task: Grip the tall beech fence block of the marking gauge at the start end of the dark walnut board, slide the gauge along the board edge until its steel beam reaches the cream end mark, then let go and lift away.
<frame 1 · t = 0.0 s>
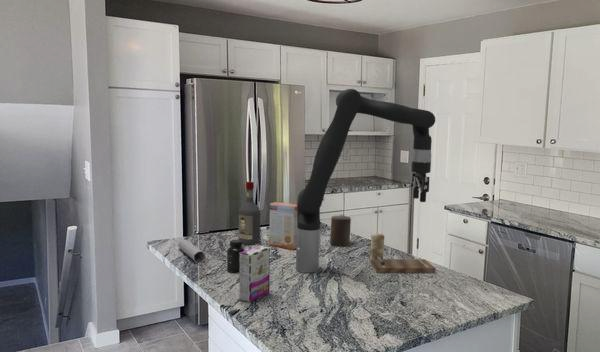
hand: (419, 200, 189), 29 cm above the counter, tool pointing down, fingers open, 8 cm apart
walnut board: (402, 268, 194), on the counter
supplement bottle: (235, 270, 186), on the counter
liquor: (249, 242, 229), on the counter
tube: (190, 255, 205), on the counter
candy bar box: (254, 296, 159), on the counter
pillar candle: (340, 244, 230), on the counter
cracker box: (284, 247, 223), on the counter
marking gauge: (379, 251, 196), point 6 cm above the counter, slide at 0.0 cm
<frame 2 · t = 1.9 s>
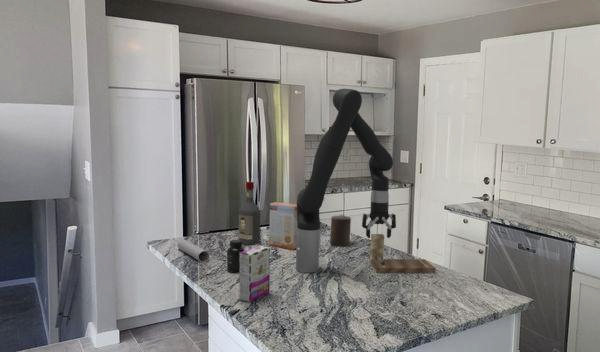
hand: (378, 237, 200), 11 cm above the counter, tool pointing down, fingers open, 8 cm apart
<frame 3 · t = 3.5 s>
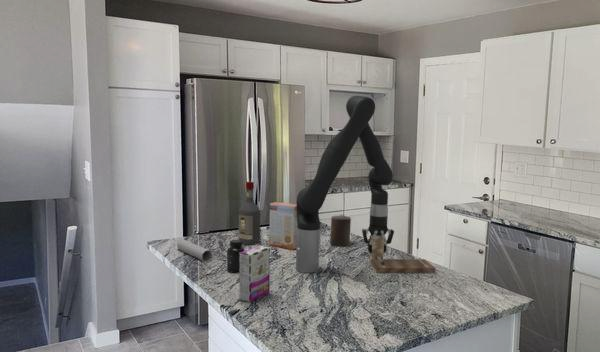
hand: (376, 252, 201), 4 cm above the counter, tool pointing down, fingers closed on marking gauge, 5 cm apart
marking gauge: (379, 251, 196), point 6 cm above the counter, slide at 0.0 cm, touching gripper
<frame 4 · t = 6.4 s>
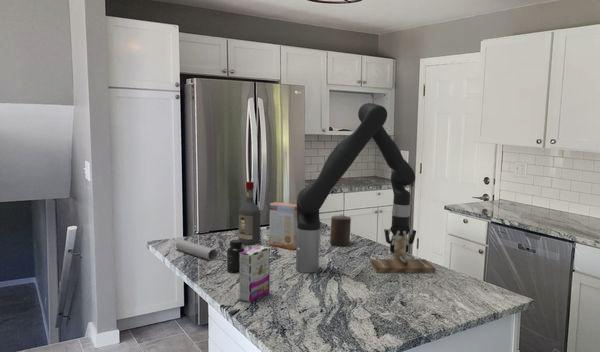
hand: (398, 252, 202), 4 cm above the counter, tool pointing down, fingers closed on marking gauge, 5 cm apart
marking gauge: (402, 251, 197), point 6 cm above the counter, slide at 9.7 cm, touching gripper
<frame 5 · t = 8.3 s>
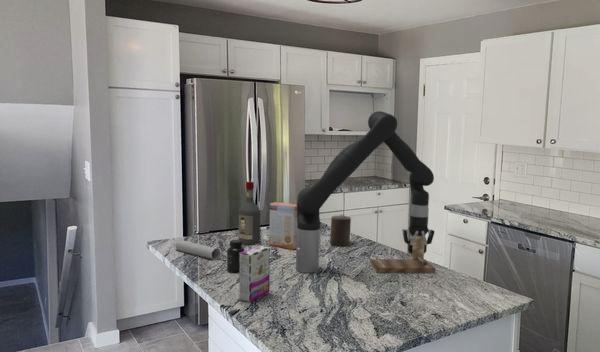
hand: (417, 252, 202), 4 cm above the counter, tool pointing down, fingers closed on marking gauge, 5 cm apart
marking gauge: (421, 251, 197), point 6 cm above the counter, slide at 17.8 cm, touching gripper
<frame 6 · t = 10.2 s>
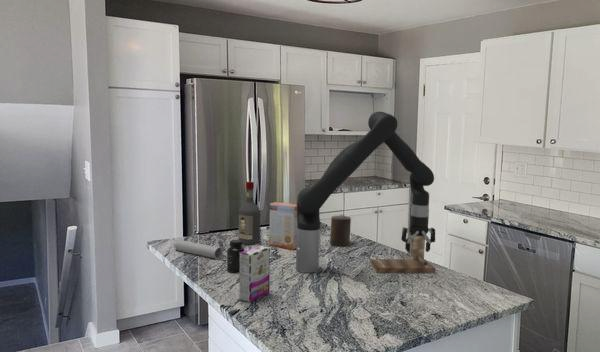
hand: (417, 251, 202), 5 cm above the counter, tool pointing down, fingers open, 8 cm apart
marking gauge: (421, 251, 197), point 6 cm above the counter, slide at 17.9 cm
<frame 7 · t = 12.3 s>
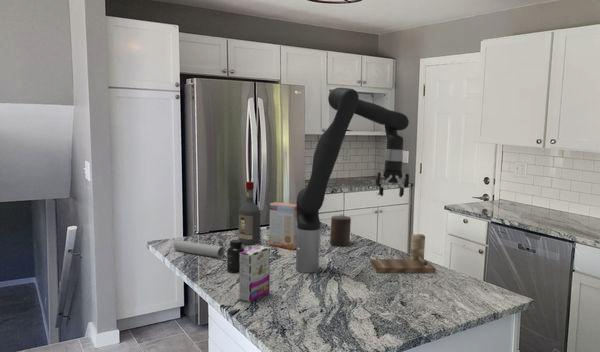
hand: (391, 196, 205), 28 cm above the counter, tool pointing down, fingers open, 8 cm apart
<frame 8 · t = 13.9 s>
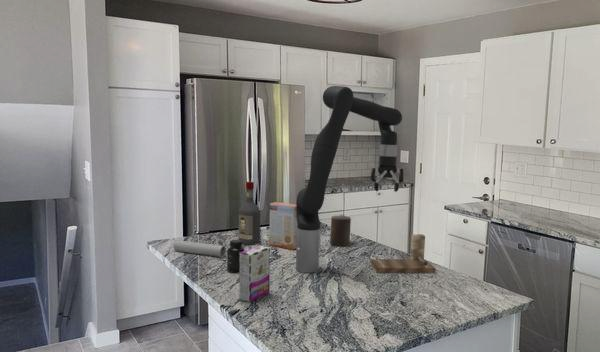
hand: (386, 191, 206), 30 cm above the counter, tool pointing down, fingers open, 8 cm apart
at the end: marking gauge slide at 17.9 cm; the gripper is holding nothing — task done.
